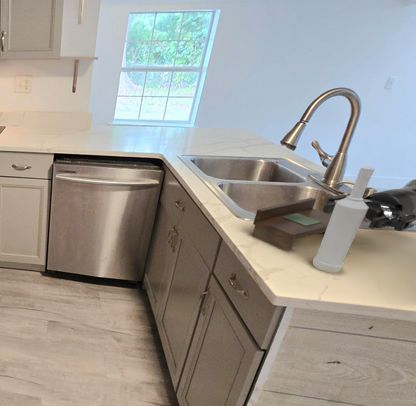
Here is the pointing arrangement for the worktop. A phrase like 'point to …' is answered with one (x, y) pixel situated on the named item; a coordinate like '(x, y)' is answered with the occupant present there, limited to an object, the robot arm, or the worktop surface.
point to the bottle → (343, 225)
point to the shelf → (289, 222)
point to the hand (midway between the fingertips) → (348, 216)
